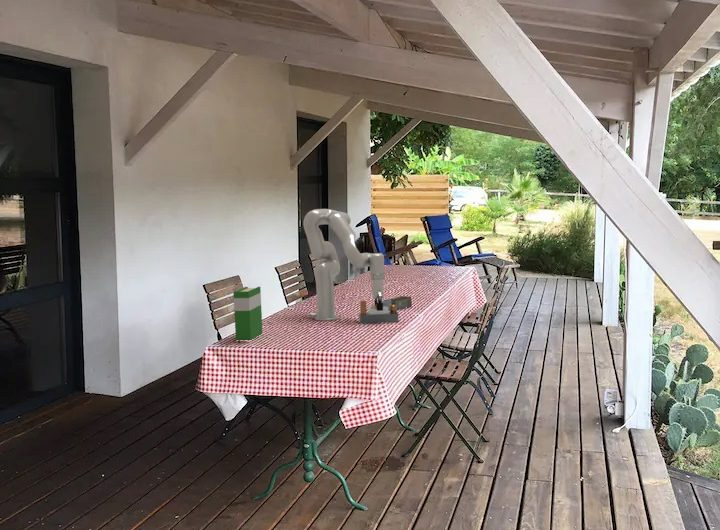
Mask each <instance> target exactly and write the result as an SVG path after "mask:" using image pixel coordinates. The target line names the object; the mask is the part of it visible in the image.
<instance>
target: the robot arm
mask: <svg viewBox="0 0 720 530" xmlns="http://www.w3.org/2000/svg"><path fill="white" fill-rule="evenodd" d="M350 224H351V217H350V215H349V214H348V213H347V212H343V211H339V210H334V209H330V208H316V209H313V210H310V211H308V212H307V213H306V214H305V216H304V218H303V229H304V233H305V235H306V238H307V243H308V247H309V250H310V254H311V256H312V258H313V259H314V260H322V261H320V262H318V263H317V264H316V265H315V266H314V270H313V274H314V278H315V279H314V280H315V286H316V288H315V289H316V311H314V312H311V311H310V312H308V316H310V317H314V320H315V321H319V322H320V321H321V322H327V321H335V320H338V318H339V316H338V315H336V310H335V309H336V307H335V285H334V282H333V278H335V277H337V276H338V275H339V274H340V272H341V265H340V260H339V257H338V254H337V250H336V248H335V246H334V244H333V243H332V242H330V241H327V240H326V241H325V238H324V236H323V233H322V230H321V229H320V228H319V227H320V226H321V225H329V226H330V228H331V229H332V230H333V232H334V233H335V235H336V236H337V238H338V239H339V241H340V243H341V244H342V248H343V253H344V255H345V256H346V258H347V259H348V262H350V264H351V265H352V266H353V267H354V268H356V269H363V268H368V267H369V272H370V274H369V275H370V277H369V278H370V281H372V282H371V283H372V284H371V286H372V287H371V289H372V291H371V293H372V299H374V305H377V311H383V301H384V300H383V299H384V280H386V274H385V255H384V254H383V253H380V252H375V253H370V252H362V253H361V252H360V251H359V250H358V248H357V246H356V243H355V238H356V236H357V235H356V233H355V231H354V229H352V226H351V225H350Z"/></svg>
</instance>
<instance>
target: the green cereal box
mask: <svg viewBox="0 0 720 530" xmlns="http://www.w3.org/2000/svg"><path fill="white" fill-rule="evenodd" d="M261 295H262V293H261V286H257V287H250V288H249V286H244V287H242V288H240V289H237V290H235V291H233V306H234V307H233V309H234V312H233V313H234V330H235V341H236V340H252V339H254V338H256V337H257V336H259V335H261V334H262V333H263V317H262V315H263V314H262V296H261ZM263 334H264V333H263Z"/></svg>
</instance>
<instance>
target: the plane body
mask: <svg viewBox="0 0 720 530" xmlns="http://www.w3.org/2000/svg"><path fill="white" fill-rule="evenodd" d="M359 308H360V309H359V311H360V312H359V313H358V319H359V321H360V322H359V323H370V324H379V323H378V322H390V323H399V321H400V320H399V313H398V310H397V305H390V311H389V314H373V315H370V314H369V312H367V300H360V301H359Z"/></svg>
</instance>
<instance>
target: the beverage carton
mask: <svg viewBox="0 0 720 530" xmlns="http://www.w3.org/2000/svg"><path fill="white" fill-rule="evenodd" d="M382 301H383V307H388V310H389V312H390V305H397V311H399V310H398V309H400V310H403V309H402V308H404V309H407V308H406V307H408V308H411V307H410V306H412V307H413V304H412V303H413V301H412V297H411V296H402V295H400V296H398V297H397V296H396V297H394V298H389V299H386V300H385V299H384V300H382Z"/></svg>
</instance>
